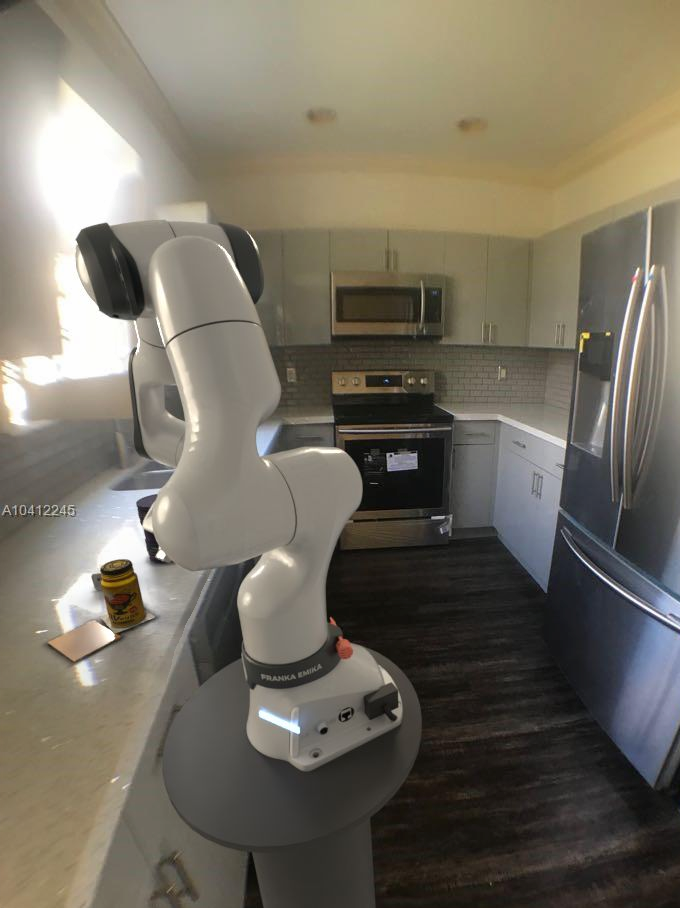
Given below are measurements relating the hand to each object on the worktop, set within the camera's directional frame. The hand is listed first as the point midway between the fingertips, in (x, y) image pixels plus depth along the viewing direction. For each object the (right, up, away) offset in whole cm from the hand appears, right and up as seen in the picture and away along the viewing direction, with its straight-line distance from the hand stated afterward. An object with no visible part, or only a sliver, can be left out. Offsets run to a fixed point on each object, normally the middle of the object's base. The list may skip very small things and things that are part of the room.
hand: (162, 560), depth 94 cm
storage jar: (-8, -1, +22) cm, 23 cm away
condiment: (-5, -11, -4) cm, 13 cm away
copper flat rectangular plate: (-9, -14, -10) cm, 19 cm away
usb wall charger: (-16, -6, +10) cm, 20 cm away
